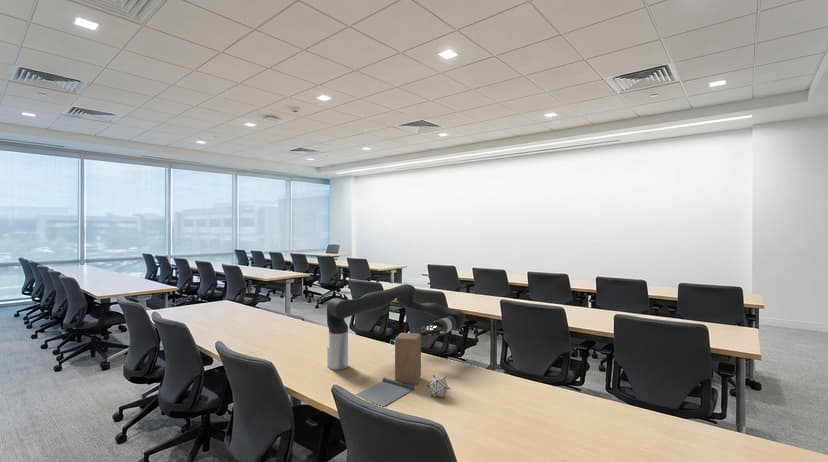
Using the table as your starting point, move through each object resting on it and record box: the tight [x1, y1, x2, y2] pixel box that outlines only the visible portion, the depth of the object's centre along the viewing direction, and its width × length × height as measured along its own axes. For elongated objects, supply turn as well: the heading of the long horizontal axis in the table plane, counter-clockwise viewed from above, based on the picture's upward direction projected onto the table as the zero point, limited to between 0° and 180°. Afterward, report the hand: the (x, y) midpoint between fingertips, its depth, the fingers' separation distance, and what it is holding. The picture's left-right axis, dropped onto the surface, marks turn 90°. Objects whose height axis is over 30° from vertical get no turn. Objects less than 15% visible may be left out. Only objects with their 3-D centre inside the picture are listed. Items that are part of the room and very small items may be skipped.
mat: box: [355, 377, 415, 408], centre depth 157 cm, size 16×20×2 cm
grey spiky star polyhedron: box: [426, 374, 451, 400], centre depth 154 cm, size 9×8×10 cm
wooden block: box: [394, 332, 422, 386], centre depth 171 cm, size 10×10×20 cm
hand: (422, 334), depth 181 cm, fingers closed
